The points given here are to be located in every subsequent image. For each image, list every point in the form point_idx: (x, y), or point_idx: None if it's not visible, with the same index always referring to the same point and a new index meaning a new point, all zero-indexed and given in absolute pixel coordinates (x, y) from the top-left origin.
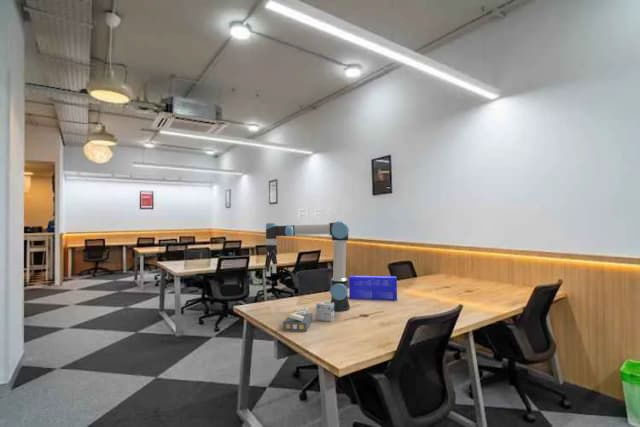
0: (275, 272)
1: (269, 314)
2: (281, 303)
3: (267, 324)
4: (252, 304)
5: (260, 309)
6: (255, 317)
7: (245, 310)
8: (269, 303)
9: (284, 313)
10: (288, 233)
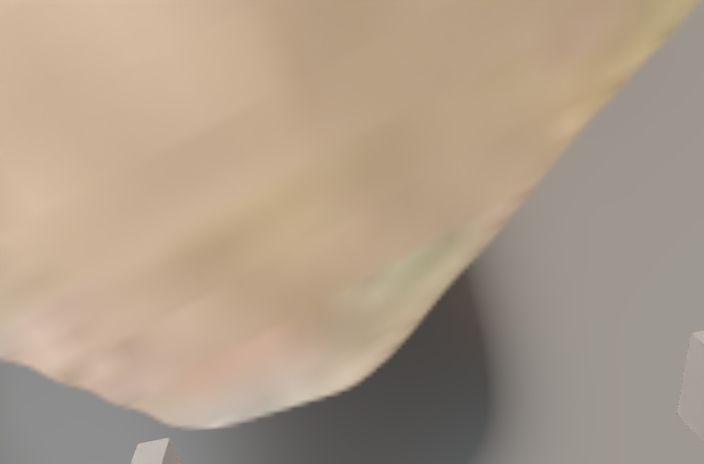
0: (168, 460)
1: (400, 140)
2: (3, 215)
3: (676, 11)
4: (176, 410)
5: (284, 285)
6: (505, 205)
7: (351, 365)
8: (72, 314)
9: (327, 12)
10: None
